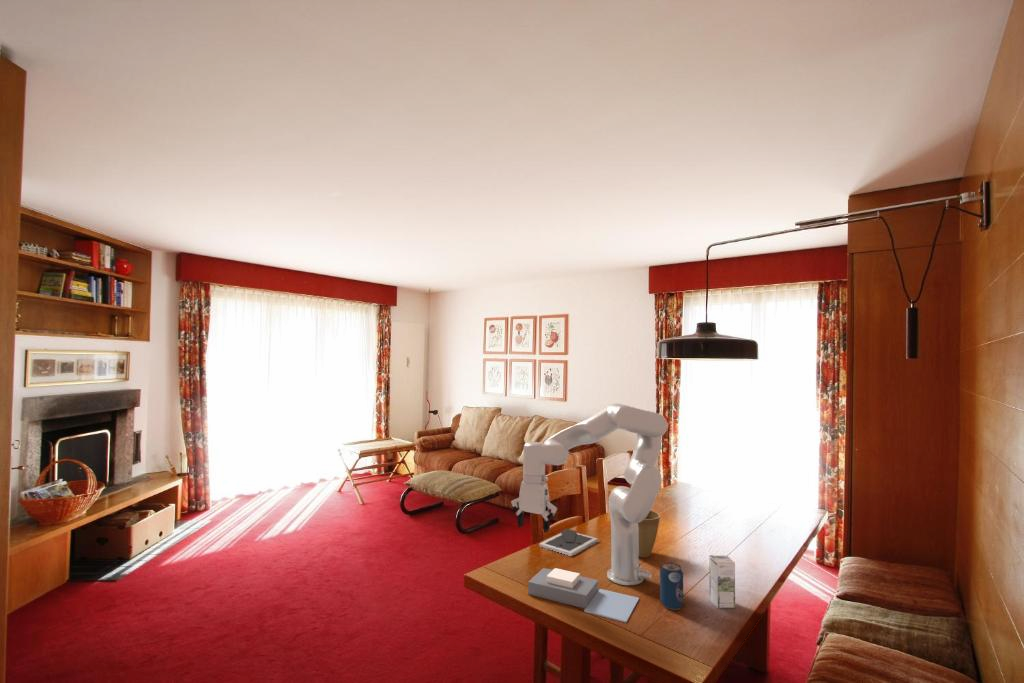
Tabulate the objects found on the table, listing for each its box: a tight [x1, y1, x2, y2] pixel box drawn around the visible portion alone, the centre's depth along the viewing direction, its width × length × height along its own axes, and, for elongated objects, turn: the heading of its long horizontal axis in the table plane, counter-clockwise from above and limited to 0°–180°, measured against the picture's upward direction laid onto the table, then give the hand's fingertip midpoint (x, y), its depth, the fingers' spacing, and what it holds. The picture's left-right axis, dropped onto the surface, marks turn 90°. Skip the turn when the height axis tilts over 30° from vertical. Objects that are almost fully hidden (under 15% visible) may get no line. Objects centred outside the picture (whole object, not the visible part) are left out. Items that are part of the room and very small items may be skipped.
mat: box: [583, 588, 640, 624], centre depth 149 cm, size 13×16×1 cm
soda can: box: [659, 562, 685, 611], centre depth 149 cm, size 7×7×12 cm
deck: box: [527, 567, 599, 610], centre depth 157 cm, size 20×12×4 cm, turn 62°
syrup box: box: [708, 554, 736, 609], centre depth 150 cm, size 6×6×14 cm
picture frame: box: [538, 528, 599, 557], centre depth 200 cm, size 16×3×21 cm
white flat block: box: [547, 567, 581, 588], centre depth 157 cm, size 9×7×2 cm
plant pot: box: [638, 510, 661, 559], centre depth 190 cm, size 15×15×16 cm
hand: (533, 528), depth 164 cm, fingers open, 9 cm apart
